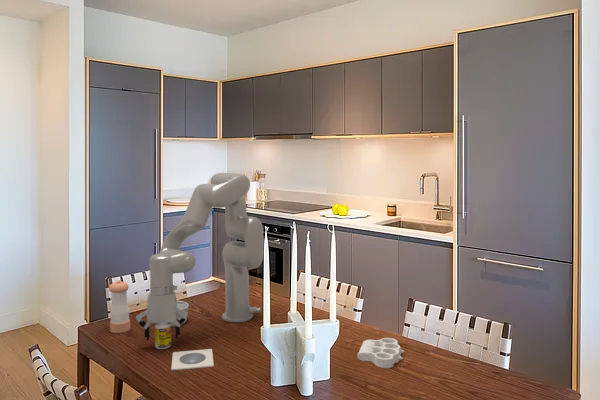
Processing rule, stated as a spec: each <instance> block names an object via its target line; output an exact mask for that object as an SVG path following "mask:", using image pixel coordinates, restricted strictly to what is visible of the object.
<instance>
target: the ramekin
mask: <svg viewBox="0 0 600 400" xmlns="http://www.w3.org/2000/svg"><path fill="white" fill-rule="evenodd" d="M189 307H190V305H189V303H188V302H186V301H184V300H183V301H182V300H177V308H178V309H181V310H183V311H185V312H187V313H189V312H188V311H189ZM182 317H183V315H181V314H179V313H177V319H178V320H180V319H181V318H182ZM187 320H188V316H187V317H186V319H185V321H184V322H183V323H182V324H181V325H180V326H182V325H184V324H185V323H186V322H187ZM170 323H171V328H174V327H176V325H175V324H174V323H173V322H170Z"/></svg>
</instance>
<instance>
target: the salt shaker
mask: <svg viewBox="0 0 600 400" xmlns="http://www.w3.org/2000/svg"><path fill="white" fill-rule="evenodd" d="M129 287H130V286H129V284H128V283H127V282H125V281H121V280H116V281H115V282H113V283H111V284H110V285H109V287H108V291H109V292H110V293H111V294H110V295H111V296H110V297H111V298H110V299H111V303H110V312H109V314H110V321H109V331H110V332H111V333H112V334H121V333H122V334H123V333H125V332H128V331H130V330H131V319H130V309H129V305H128V297H127V296H128V295H127V293H128V292H127V291H128V290H129V289H130V288H129Z"/></svg>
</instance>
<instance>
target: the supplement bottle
mask: <svg viewBox="0 0 600 400" xmlns="http://www.w3.org/2000/svg"><path fill="white" fill-rule="evenodd" d="M171 346H172V327H171V323H170V322H169V323H154V347H155V348H156V349H158V350H166V349H168V348H170V347H171Z"/></svg>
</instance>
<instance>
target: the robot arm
mask: <svg viewBox="0 0 600 400" xmlns="http://www.w3.org/2000/svg"><path fill="white" fill-rule="evenodd" d="M250 189H251V181H250V178H248V176H247V175H245V174H241V173H233V172H231V173H230V172H218V173H215V174H213V175H212V177H211V178H210V183H201V184H199V185H197V186H196V187H195V188H194V189H193V192H192V194H191V197H190V200H189V203H188V205H187V207H186V210H185V212H184V215H183V217H182V219H181V221H180V222H179V223H178V224H176V225H175V226H174V227H173V228H172V229H171V231H169V232H168V233H167V235H166V237H165V239H164V240H163V242H162V245H161V247H160V250H159V253H155V254H153V255H151V256H150V258H149V285H150V286H149V287H150V288H149V290H150V292H149V293H148V294H147V301H146V310H144V311H142V312H140V313H139V314H137V315H136V316H135V319H136V320H137V323H138V324H139V325H140V327H142V328H143V329H144V338H146V341H149V340H150V337H151V336H150V335H151V334H150V325H151V324H156V323H169V322H173V323H174V324H175V325H176V326H175V338H176V339H179V336H180V335H181V328H180V327H181V326H182V325H183V324H182V323H183V322H184V321H185V319H186V317H187V318H188V316H189V314H188V313H189V312H188V313H187V312H185V311H183V310H181V309H178V308H177V301H178V299H177V295H176V292H175V291H176V290H178V285H174V274H186V273H188V272H191V271H192V270H193V269H194V268H195V266H196V258H195V255H194V254H193V253H190V252H189V251H185V250H180V247H181V245H182V243H183V242H184V241H185V240H186V239H187V238H189V237H191V236H192V235H194V234H196V233H199V232H200V231H202V230H204V229H205V227H206V225H207V222H208V219H209V217H210V214H211V211H212V209H213V208H216V209H217V208H218V209H221V208H224V211H225V213H224V214H225V216H224V217H225V218H224V219H225V220H224V221H225V233H226V235H227V236H228V237H230V238H233V239H236V240H232V241H229V242H227V243H226V244H225V245H224V246H223V248H222V259H223V264H224V276H225V277H224V278H225V283H224V284H225V288H224V289H225V312H223V313H222V315H221V319H222V320H223V321H225V322H228V323H243V322H249V321H250V320H251V319H253V318H254V314H255V313H261V307H257V306H251V305H250V281H249V280H250V277H249V275H250V274H249V270H248V269H249V268H250V269H255V268H256V269H257V268H258V267H260V266H261V265H262V263H263V260H264V254H265V253H264V249H265V248H264V246H265V245H264V243H265V242H264V226H263V224H262V221H261V220H260V219H259V218H257V217H255V216H249V215H248V212H247V201H246V199H245V196H246V194H247V193H248V192H249V190H250ZM237 240H238V241H237ZM239 240H242V241H239ZM243 240H244V241H243ZM177 313H179V314H181V315H183V317H182V318H181V319H180V320H178V319H177ZM143 317H146V321H144V320H143V319H142V318H143ZM181 324H182V325H181Z"/></svg>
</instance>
